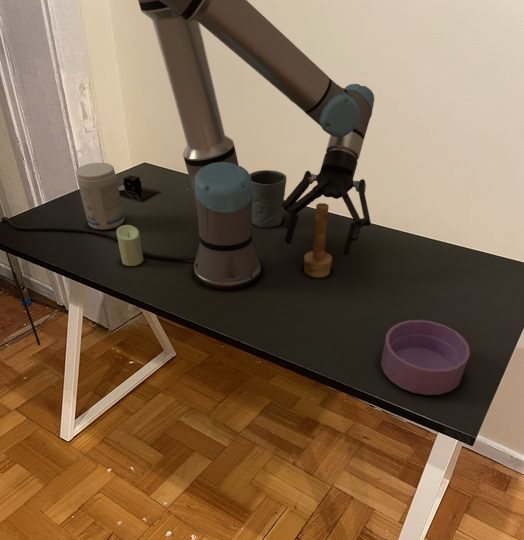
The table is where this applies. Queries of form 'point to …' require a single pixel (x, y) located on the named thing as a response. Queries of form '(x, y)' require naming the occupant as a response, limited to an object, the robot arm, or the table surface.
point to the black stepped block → (134, 189)
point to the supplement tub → (100, 195)
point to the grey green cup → (267, 197)
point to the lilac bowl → (424, 357)
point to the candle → (129, 245)
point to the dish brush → (319, 246)
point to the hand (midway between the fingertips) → (316, 247)
